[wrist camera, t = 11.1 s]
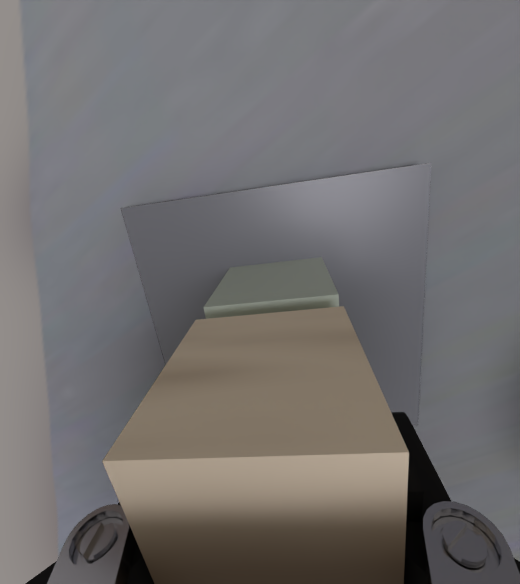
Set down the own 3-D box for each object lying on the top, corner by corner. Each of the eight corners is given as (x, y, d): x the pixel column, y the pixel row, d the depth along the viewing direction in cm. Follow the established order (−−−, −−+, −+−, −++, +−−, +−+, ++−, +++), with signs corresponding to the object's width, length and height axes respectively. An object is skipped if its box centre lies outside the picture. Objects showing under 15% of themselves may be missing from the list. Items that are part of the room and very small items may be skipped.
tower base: (409, 410, 18) (466, 516, 12) (191, 420, 20) (152, 517, 14) (419, 164, 14) (517, 151, 8) (132, 206, 15) (39, 221, 10)
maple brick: (352, 479, 11) (399, 698, 6) (233, 481, 12) (196, 683, 7) (343, 306, 9) (409, 453, 4) (195, 319, 9) (102, 461, 5)
